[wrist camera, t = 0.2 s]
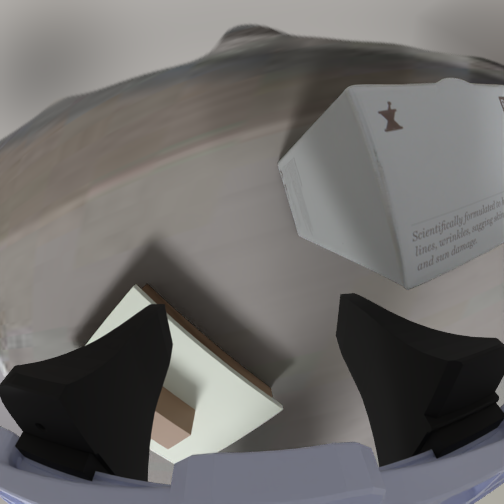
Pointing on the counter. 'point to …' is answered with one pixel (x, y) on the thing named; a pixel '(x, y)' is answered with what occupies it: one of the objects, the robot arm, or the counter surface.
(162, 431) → the lid
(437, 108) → the skincare box
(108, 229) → the counter surface
